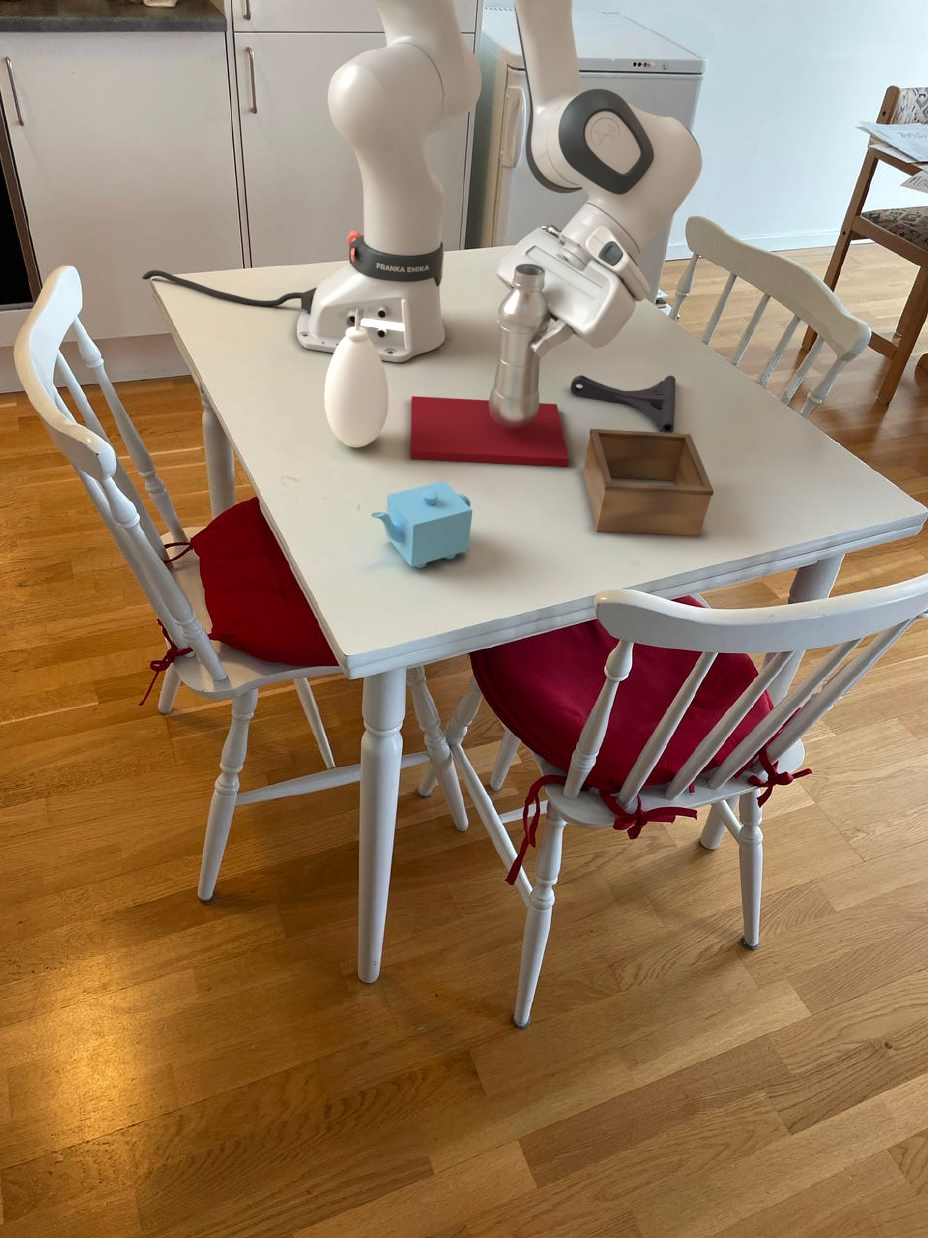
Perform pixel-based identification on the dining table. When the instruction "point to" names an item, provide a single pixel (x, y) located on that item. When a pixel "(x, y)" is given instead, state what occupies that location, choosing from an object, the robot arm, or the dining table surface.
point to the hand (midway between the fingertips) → (518, 340)
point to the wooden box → (646, 503)
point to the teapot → (427, 523)
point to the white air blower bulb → (356, 389)
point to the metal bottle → (519, 349)
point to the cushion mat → (483, 434)
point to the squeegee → (635, 398)
